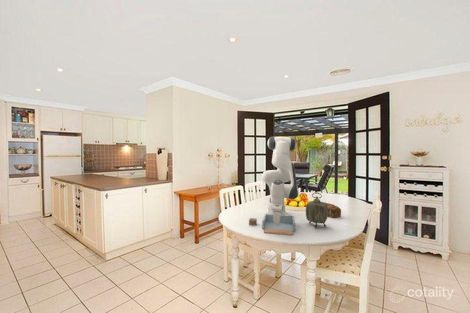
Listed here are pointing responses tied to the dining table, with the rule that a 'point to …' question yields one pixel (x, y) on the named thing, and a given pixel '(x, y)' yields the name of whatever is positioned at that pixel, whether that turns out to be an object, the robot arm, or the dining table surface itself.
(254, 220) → the walnut block
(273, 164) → the robot arm
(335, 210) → the bread
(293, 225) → the blue-grey open tray
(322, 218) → the tabletop clock
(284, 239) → the dining table surface
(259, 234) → the dining table surface
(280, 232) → the panel
